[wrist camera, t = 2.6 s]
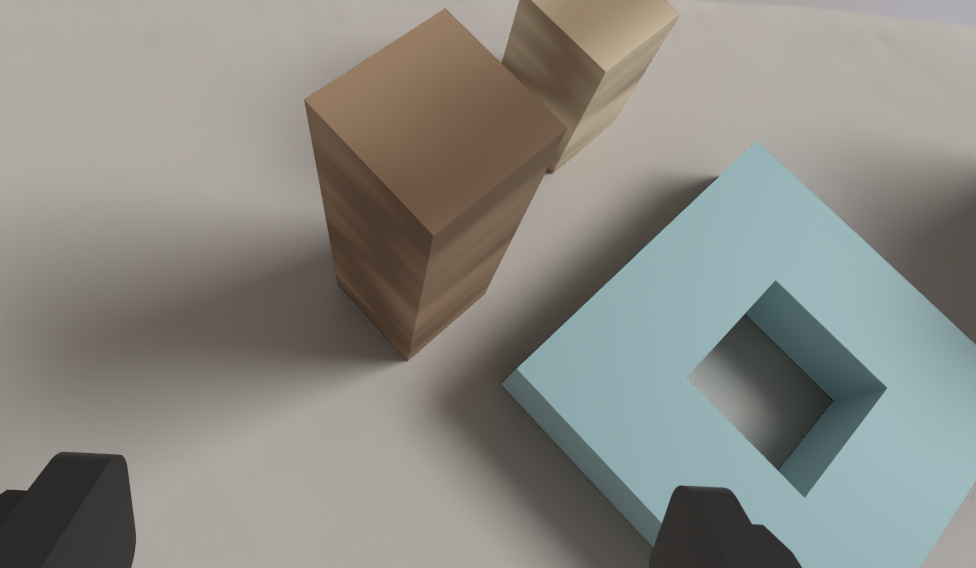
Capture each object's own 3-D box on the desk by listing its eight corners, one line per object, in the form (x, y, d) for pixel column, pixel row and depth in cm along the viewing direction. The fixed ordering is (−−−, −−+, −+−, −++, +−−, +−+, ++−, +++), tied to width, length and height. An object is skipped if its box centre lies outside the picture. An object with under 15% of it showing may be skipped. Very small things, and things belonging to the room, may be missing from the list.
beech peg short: (488, 110, 28) (521, -9, 22) (550, 63, 30) (599, -61, 23) (552, 173, 28) (606, 72, 21) (612, 124, 29) (680, 13, 23)
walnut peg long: (337, 284, 25) (304, 99, 13) (416, 222, 26) (445, 8, 15) (407, 360, 24) (433, 235, 13) (484, 294, 25) (567, 128, 14)
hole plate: (500, 384, 24) (516, 368, 22) (720, 175, 29) (757, 140, 26) (776, 680, 23) (832, 704, 20) (963, 406, 27) (1030, 395, 24)
